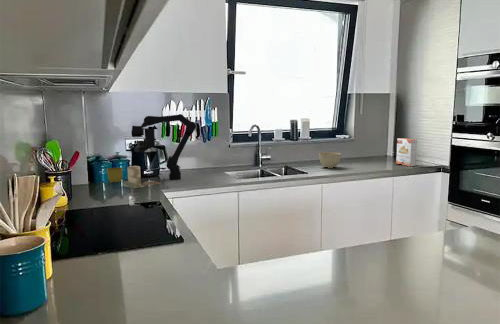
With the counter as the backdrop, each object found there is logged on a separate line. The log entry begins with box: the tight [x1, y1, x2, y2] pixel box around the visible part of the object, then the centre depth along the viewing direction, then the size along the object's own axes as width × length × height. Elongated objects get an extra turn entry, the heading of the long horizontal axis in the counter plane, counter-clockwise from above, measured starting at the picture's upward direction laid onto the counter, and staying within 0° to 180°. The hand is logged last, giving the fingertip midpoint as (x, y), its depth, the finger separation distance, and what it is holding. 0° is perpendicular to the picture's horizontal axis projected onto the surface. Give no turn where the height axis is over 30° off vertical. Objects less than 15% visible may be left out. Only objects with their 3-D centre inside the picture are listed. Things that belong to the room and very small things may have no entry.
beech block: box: [126, 165, 142, 187], centre depth 217 cm, size 5×5×11 cm
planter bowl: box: [318, 151, 342, 169], centre depth 290 cm, size 16×16×11 cm
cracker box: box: [395, 137, 418, 167], centre depth 297 cm, size 14×6×21 cm, turn 25°
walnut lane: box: [122, 180, 162, 189], centre depth 221 cm, size 19×10×4 cm, turn 138°
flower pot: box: [106, 167, 123, 184], centre depth 233 cm, size 9×9×9 cm
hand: (150, 162), depth 235 cm, fingers closed
